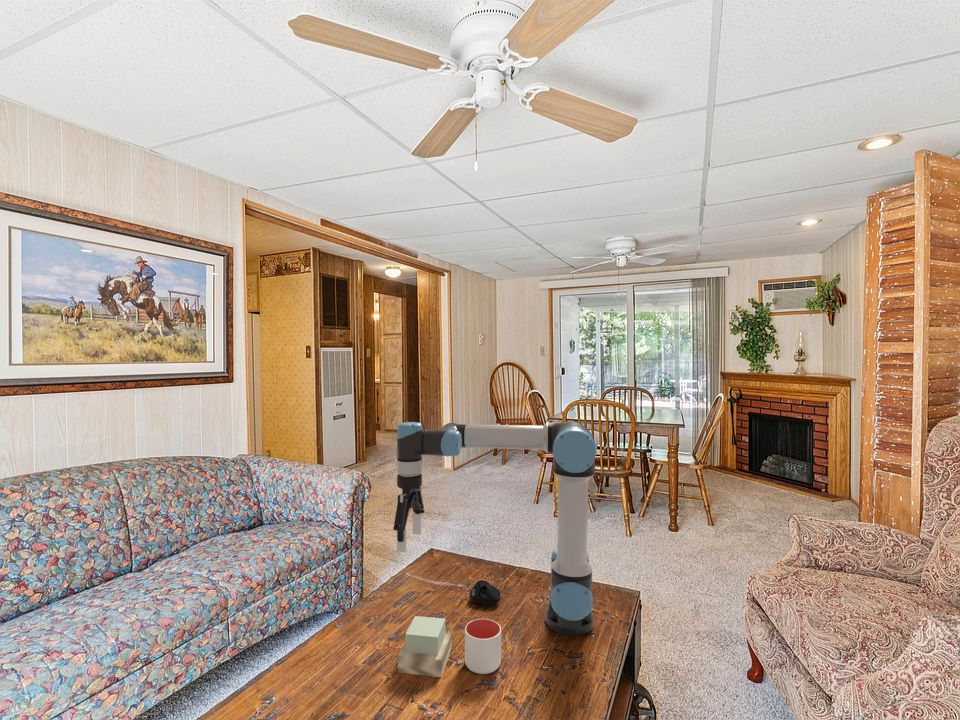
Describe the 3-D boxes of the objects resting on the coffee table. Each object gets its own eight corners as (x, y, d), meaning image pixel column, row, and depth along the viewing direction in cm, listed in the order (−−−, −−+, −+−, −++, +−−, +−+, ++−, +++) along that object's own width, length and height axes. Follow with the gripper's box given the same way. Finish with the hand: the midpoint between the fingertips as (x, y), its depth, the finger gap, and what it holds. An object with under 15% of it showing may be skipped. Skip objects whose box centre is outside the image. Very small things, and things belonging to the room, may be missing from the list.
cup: (497, 679, 127) (498, 641, 127) (460, 673, 129) (461, 637, 129) (503, 655, 137) (503, 620, 137) (469, 651, 139) (469, 616, 139)
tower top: (445, 635, 139) (445, 618, 138) (437, 655, 130) (437, 637, 130) (415, 632, 140) (415, 615, 140) (405, 652, 131) (405, 634, 131)
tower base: (451, 650, 140) (451, 633, 140) (441, 678, 128) (441, 659, 128) (411, 646, 142) (411, 629, 142) (397, 673, 130) (397, 655, 130)
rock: (481, 613, 170) (507, 605, 167) (468, 609, 163) (495, 600, 160) (477, 585, 176) (502, 577, 173) (464, 580, 169) (490, 572, 166)
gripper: (411, 463, 160) (411, 526, 161) (381, 483, 136) (381, 558, 136) (433, 464, 159) (433, 528, 159) (407, 485, 135) (407, 561, 135)
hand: (409, 542), depth 148 cm, fingers open, 13 cm apart
